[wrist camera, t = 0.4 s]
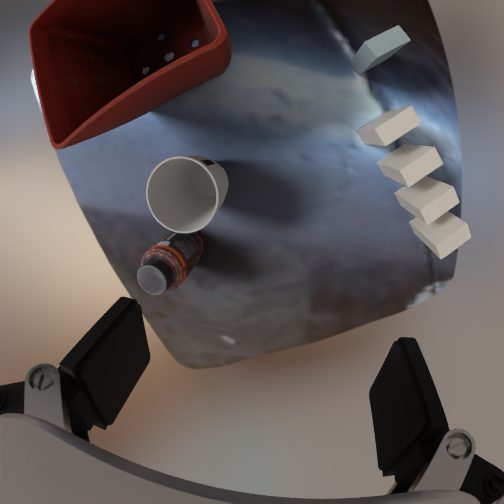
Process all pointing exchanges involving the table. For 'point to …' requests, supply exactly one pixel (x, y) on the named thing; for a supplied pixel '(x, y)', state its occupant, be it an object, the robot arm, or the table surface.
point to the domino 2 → (389, 126)
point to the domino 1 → (379, 49)
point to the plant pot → (120, 60)
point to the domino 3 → (410, 163)
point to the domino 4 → (427, 199)
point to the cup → (186, 192)
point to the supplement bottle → (169, 262)
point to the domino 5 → (442, 233)
